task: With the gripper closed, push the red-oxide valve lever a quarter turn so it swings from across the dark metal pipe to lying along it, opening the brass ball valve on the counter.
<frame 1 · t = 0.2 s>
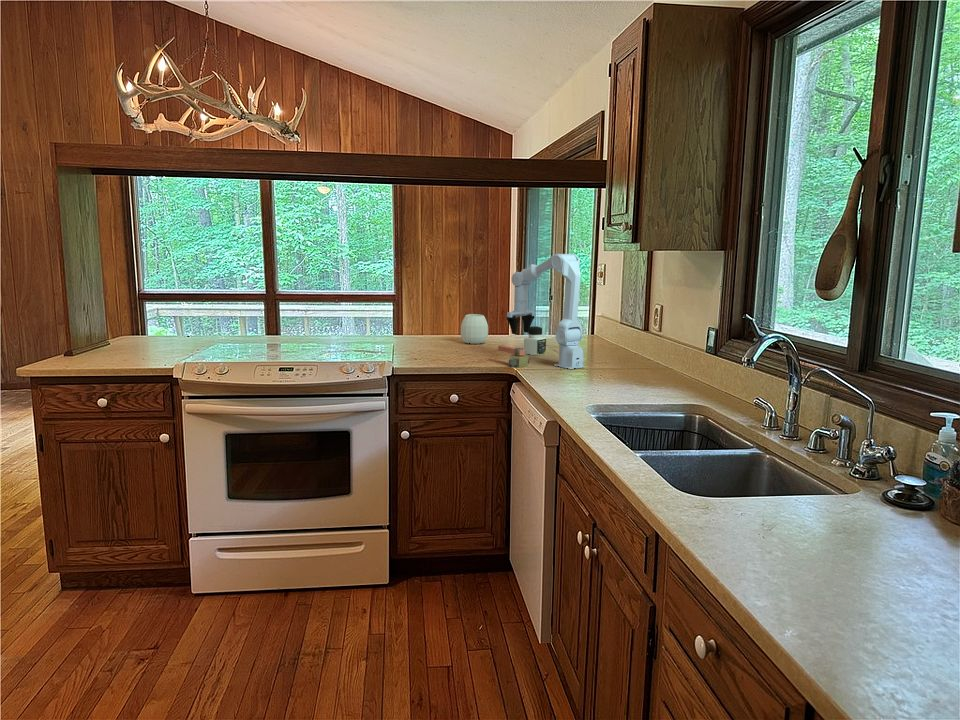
hand: (520, 333, 287), 10 cm above the worktop, tool pointing down, fingers open, 7 cm apart
valve: (518, 366, 268), on the worktop
cup: (474, 343, 326), on the worktop
medicine bottle: (534, 354, 297), on the worktop
lever: (511, 349, 271), point 6 cm above the worktop, hinge at 0.0°
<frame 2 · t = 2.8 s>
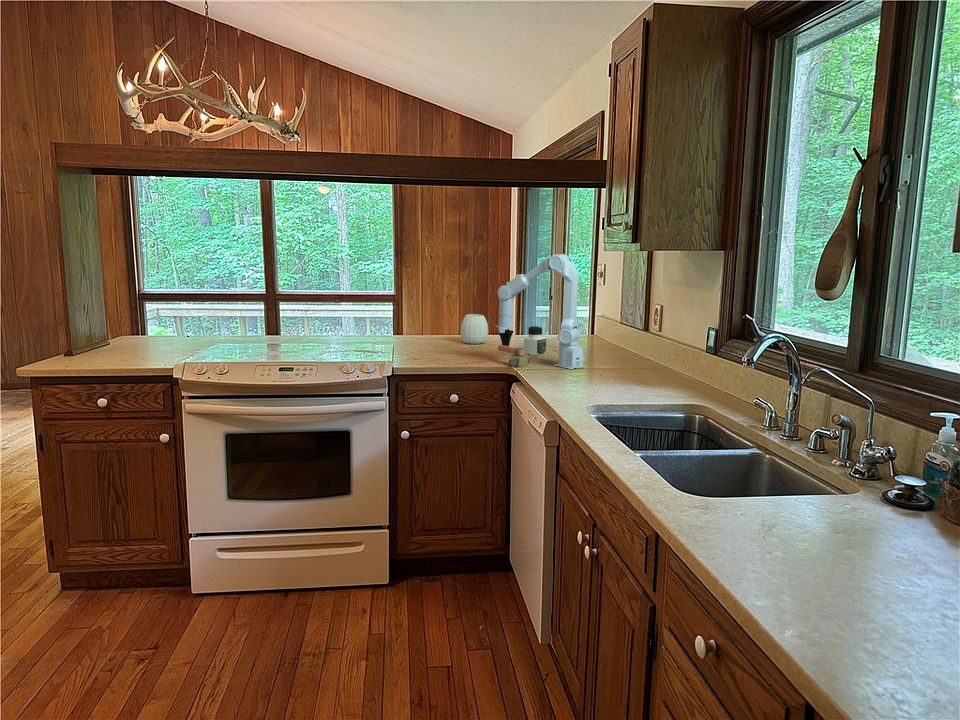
hand: (505, 348, 278), 5 cm above the worktop, tool pointing down, fingers closed, pressing on lever
lever: (511, 349, 271), point 6 cm above the worktop, hinge at 0.0°, touching gripper
everything else where it was.
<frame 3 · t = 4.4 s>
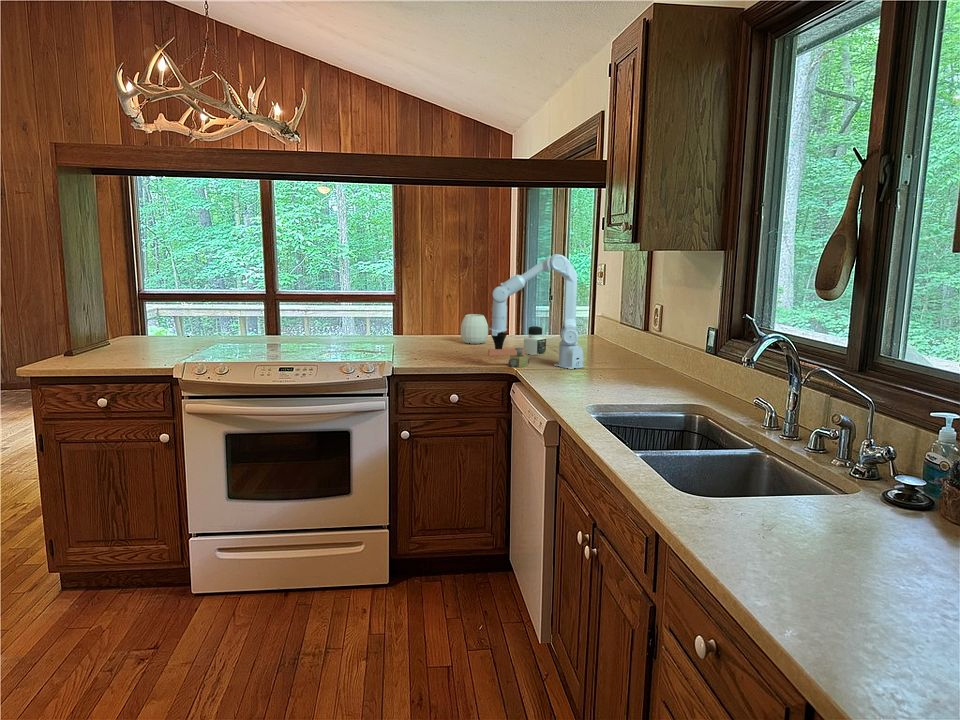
hand: (498, 351, 268), 5 cm above the worktop, tool pointing down, fingers closed, pressing on lever
lever: (506, 351, 267), point 6 cm above the worktop, hinge at 63.6°, touching gripper
everything else where it was.
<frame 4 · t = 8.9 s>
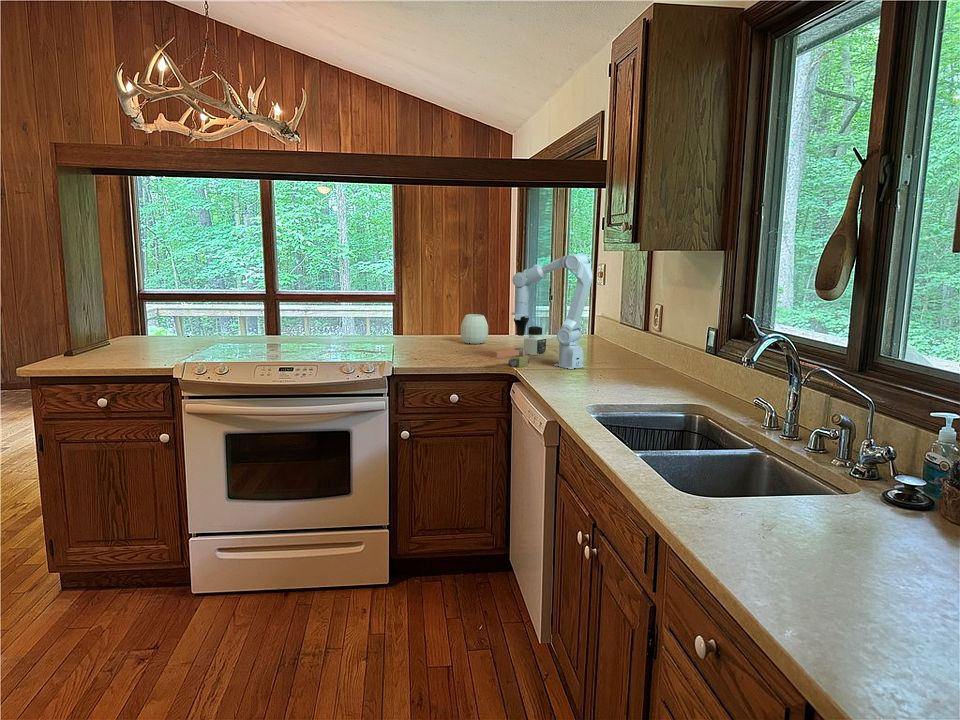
hand: (520, 335, 278), 10 cm above the worktop, tool pointing down, fingers closed
lever: (509, 352, 264), point 6 cm above the worktop, hinge at 91.0°
everything else where it was.
at the end: lever at +91° (first picture: +0°) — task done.
